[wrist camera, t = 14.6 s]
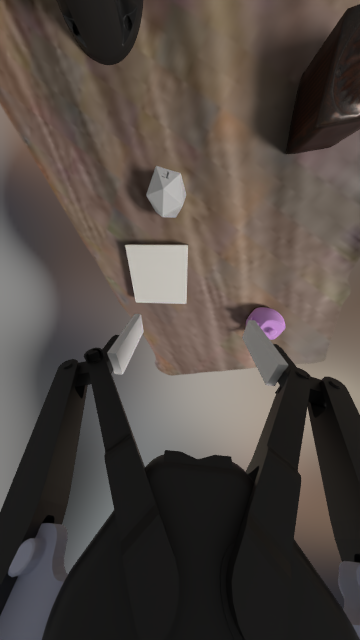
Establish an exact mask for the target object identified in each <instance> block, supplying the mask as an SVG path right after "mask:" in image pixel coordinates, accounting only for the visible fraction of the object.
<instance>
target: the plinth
mask: <svg viewBox="0 0 360 640" xmlns="http://www.w3.org/2000/svg"><path fill="white" fill-rule="evenodd" d="M125 247H126V252H127V258H128V263H129V268H130V274H131V279H132V284H133V290H134V295H135V300H136V302H140V303H174V304H186V298H187V262H188V245H182V244H129V245H125Z"/></svg>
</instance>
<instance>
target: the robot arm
mask: <svg viewBox="0 0 360 640" xmlns="http://www.w3.org/2000/svg"><path fill="white" fill-rule="evenodd" d="M57 2H58V5H59V7H60V10H61V12H62V14H63V17H64V19H65V21H66V23H67V25H68V27H69V29H70V31H71V32H72V34H73V36H74V37H75V39H76V41H77V42H78V44H79V45H80V46H81V48H82V49H83V50H84V51H85V52H86V53H87V54H88V55H89V56H90V57H91V58H92V59H94V60H95V61H97V62H99V63H101V64H104V65H114V64H117V63H119V62H120V61H122V60H123V59H124V58H125V57H126V56H127V55H128V54H129V52H130V51H131V49H132V47H133V45H134V43H135V40H136V38H137V35H138V31H139V27H140V23H141V17H142V10H143V0H57ZM142 334H143V325H142V318H141V314H134V316H133V317H132V319H131V320H130V321H129V323H128V324H127V326H126V327H125V329H124V330H123V331H122V333H121V334H120V335H115V336H113V337H112V338H111V339H110V340H109V342H108V343H107V344H106V345H105V347H104V348H103V349H100V348H93V349H90V350H88V351H87V352H86V353H85V354H84V358H85V359H86V362H81V363H78V361H77V360H74V359H72V360H68V361H65V362H64V363H62V364H61V365H60V366H59V368H58V370H57V372H56V375H55V377H54V380H53V382H52V385H51V387H50V390H49V392H48V395H47V397H46V400H45V402H44V405H43V407H42V410H41V412H40V415H39V417H38V420H37V422H36V425H35V427H34V430H33V432H32V435H31V437H30V440H29V442H28V444H27V447H26V449H25V452H24V454H23V457H22V459H21V462H20V464H19V467H18V469H17V472H16V474H15V477H14V479H13V482H12V484H11V487H10V489H9V492H8V494H7V497H6V499H5V502H4V504H3V507H2V509H1V512H0V640H360V415H359V413H358V410H357V408H356V407H355V404H354V402H353V400H352V398H351V396H350V394H349V392H348V390H347V388H346V387H345V385H343V384H342V383H341V382H339V381H338V380H336V379H334V378H331V377H324V378H323V379H322V380H320V379H317V378H313V377H311V376H310V375H309V374H308V373H307V372H306V371H304V370H302V369H300V368H297V367H296V366H295V364H294V363H293V362H292V361H291V359H290V358H289V357H288V356H287V354H286V353H285V352H284V351H283V349H282V348H281V347H279V346H278V345H277V344H272V342H271V341H270V340H269V338H268V337H267V336H266V334H265V333H264V332H263V330H262V329H261V328H260V326H259V325H258V324H257V322H256V321H255V320H248V323H247V325H246V328H245V331H244V334H243V337H242V338H243V340H244V342H245V344H246V346H247V348H248V350H249V352H250V354H251V356H252V358H253V360H254V362H255V364H256V366H257V368H258V370H259V372H260V374H261V376H262V378H263V380H264V382H265V384H266V385H272V386H275V385H276V383H277V382H278V383H279V384H280V387H279V388H278V389H277V391H276V392H275V393H276V396H275V399H274V401H273V404H272V407H271V409H270V412H269V415H268V418H267V421H266V423H265V426H264V428H263V431H262V434H261V437H260V439H259V442H258V445H257V447H256V450H255V453H254V455H253V458H252V460H251V462H250V464H249V466H248V468H247V470H246V472H245V471H244V470H243V469H242V468H241V467H239V466H238V465H237V464H235V463H233V462H232V460H231V457H229V456H219V455H213V456H209V457H206V458H202V459H195V458H193V457H191V456H189V455H187V454H185V453H183V452H179V451H168V450H165V454H164V455H161V456H159V457H157V458H155V459H153V460H152V461H151V462H150V463H149V464H148V465H147V466H146V467H145V466H144V464H143V461H142V458H141V455H140V453H139V450H138V447H137V444H136V442H135V439H134V436H133V433H132V431H131V428H130V425H129V422H128V420H127V416H126V414H125V411H124V408H123V405H122V402H121V400H120V397H119V394H118V392H117V388H116V386H115V383H114V380H113V377H112V375H111V373H112V371H113V370H114V373H115V374H123V373H124V371H125V369H126V367H127V365H128V363H129V361H130V359H131V357H132V355H133V352H134V350H135V348H136V346H137V344H138V342H139V340H140V338H141V336H142ZM89 384H92V388H93V392H94V398H95V403H96V408H97V413H98V417H99V422H100V427H101V432H102V437H103V442H104V447H105V464H106V468H107V474H108V479H109V484H110V490H111V495H112V500H113V505H114V511H113V512H112V514H111V515H110V516H109V518H108V519H107V521H106V522H105V523H104V525H103V526H102V527H101V529H100V530H99V532H98V533H97V534H96V536H95V537H94V538H93V540H92V541H91V542H90V544H89V545H88V547H87V548H86V550H85V551H84V552H83V554H82V555H81V556H80V558H79V559H78V560H77V562H76V563H75V565H74V566H73V568H72V569H71V571H70V572H69V574H67V573H66V571H65V567H64V555H65V549H66V544H67V530H66V528H65V527H64V525H62V522H63V519H64V515H65V512H66V508H67V504H68V499H69V494H70V489H71V482H72V477H73V471H74V465H75V459H76V452H77V446H78V440H79V434H80V428H81V422H82V416H83V410H84V403H85V398H86V392H87V385H89ZM307 406H308V411H309V416H310V421H311V426H312V431H313V436H314V441H315V446H316V451H317V456H318V461H319V466H320V471H321V475H322V481H323V485H324V491H325V495H326V501H327V506H328V511H329V516H330V521H331V525H332V528H333V533H334V537H335V541H336V544H337V547H338V550H339V553H340V556H341V560H342V563H340V566H339V578H338V584H339V588H340V590H341V593H342V595H343V597H344V609H342V607H341V606H340V604H339V603H338V601H337V600H336V598H335V597H334V595H333V594H332V593H331V591H330V590H329V588H328V587H327V586H326V584H325V583H324V581H323V580H322V578H321V577H320V575H319V574H318V573H317V572H316V570H315V568H314V567H313V565H312V564H311V563H310V561H309V560H308V558H307V557H306V556H305V554H304V553H303V551H302V550H301V548H300V547H299V546H298V544H297V543H296V541H295V540H294V532H295V525H296V517H297V510H298V501H299V495H300V487H301V475H300V474H299V473H298V463H299V456H300V450H301V444H302V438H303V431H304V425H305V418H306V412H307Z"/></svg>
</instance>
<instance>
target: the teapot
mask: <svg viewBox="0 0 360 640" xmlns="http://www.w3.org/2000/svg"><path fill="white" fill-rule="evenodd" d="M248 320H255V321H256V322H257V324H258V325H259V326H260V328H261V329H262V330H263V332H264V333H265V334H266V336H267V337H268V338H269V339H275V338H276V337H278V336H279V335H280V334H281V333H282V331H283V330H284V329H285V322H284V319H283V317H282V316H281V315H280V314H279V313H278V312H277V311H275V310H273V309H271V308H266V307H258V308H256V309H254V310H253V311H252V313H251V314H250V315H249V317H248V318H247V320H246V325H247V323H248Z"/></svg>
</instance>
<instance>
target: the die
mask: <svg viewBox="0 0 360 640" xmlns="http://www.w3.org/2000/svg"><path fill="white" fill-rule="evenodd" d="M146 196H147V198H148V199H149V201H150V203H151V204H152V206H153V208H154V209H155V211H156V213H158V214H159V215H161V216H162V217H172V218H176V216H177V215H178V213H179V211H180V210H181V208H182V206H183V203H184V200H185V197H186V192H185V188H184V184H183V180H182V176H181V173H178V172H175V171H171V170H168V169H165V168H161V167H158V166H156V168H155V171H154V174H153V177H152V180H151V182H150V185H149V188H148V191H147V194H146Z"/></svg>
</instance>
